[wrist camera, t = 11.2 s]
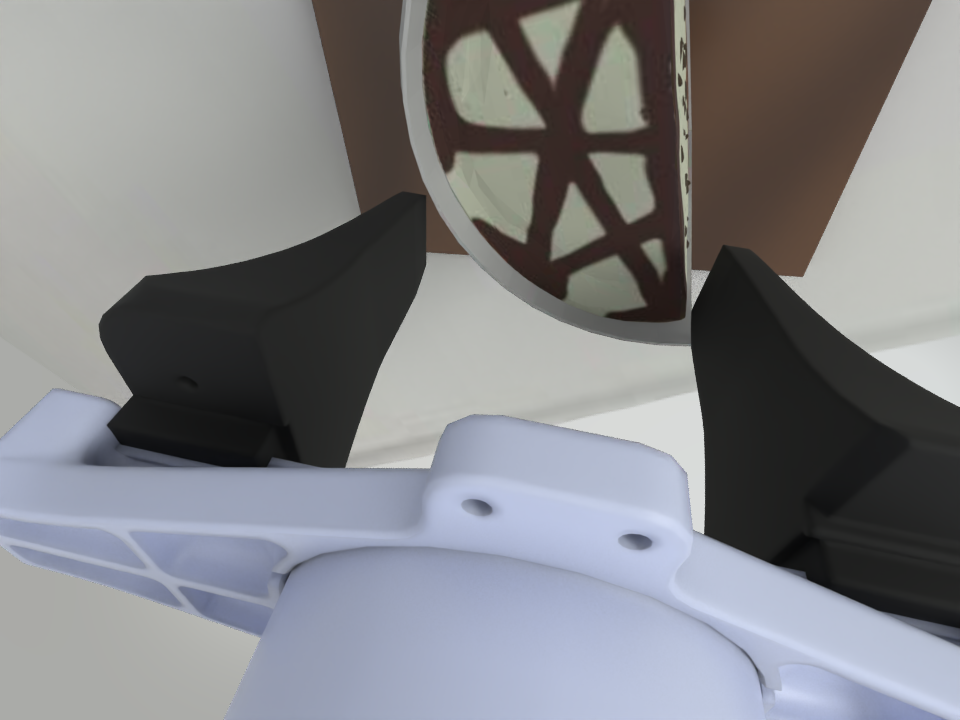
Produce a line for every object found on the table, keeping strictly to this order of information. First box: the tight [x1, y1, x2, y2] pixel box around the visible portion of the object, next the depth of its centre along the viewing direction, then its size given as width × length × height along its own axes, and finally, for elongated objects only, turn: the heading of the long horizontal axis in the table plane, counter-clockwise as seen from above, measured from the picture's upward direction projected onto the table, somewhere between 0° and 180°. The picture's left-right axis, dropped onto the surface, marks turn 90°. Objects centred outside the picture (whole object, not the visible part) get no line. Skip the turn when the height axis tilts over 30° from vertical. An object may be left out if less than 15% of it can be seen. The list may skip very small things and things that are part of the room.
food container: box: [399, 0, 692, 346], centre depth 14 cm, size 12×6×10 cm, turn 18°
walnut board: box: [312, 0, 932, 277], centre depth 17 cm, size 20×20×1 cm
